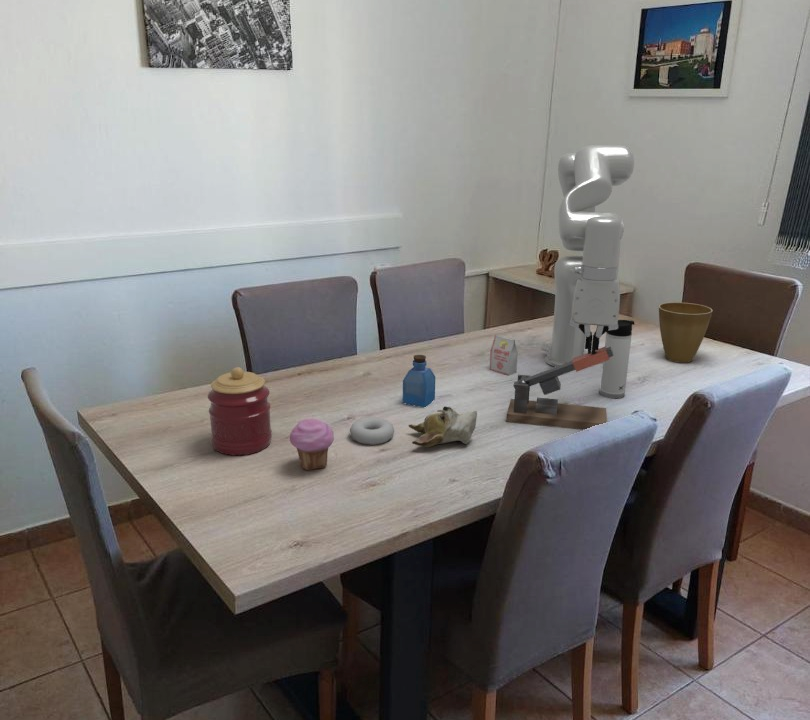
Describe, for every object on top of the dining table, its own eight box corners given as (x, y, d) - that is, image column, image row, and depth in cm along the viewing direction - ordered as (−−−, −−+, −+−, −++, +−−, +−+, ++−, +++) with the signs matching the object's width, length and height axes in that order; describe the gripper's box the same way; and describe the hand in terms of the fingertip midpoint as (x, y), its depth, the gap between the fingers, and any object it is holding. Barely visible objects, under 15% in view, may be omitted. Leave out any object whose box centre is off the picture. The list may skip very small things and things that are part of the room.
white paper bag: (497, 366, 207) (499, 333, 204) (516, 372, 203) (518, 338, 199) (489, 369, 205) (491, 336, 201) (508, 375, 200) (510, 341, 197)
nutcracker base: (506, 421, 169) (508, 386, 167) (510, 406, 179) (512, 372, 176) (606, 432, 164) (610, 395, 161) (605, 415, 173) (609, 380, 171)
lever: (520, 404, 170) (512, 385, 169) (522, 397, 174) (514, 379, 173) (618, 369, 162) (610, 349, 161) (617, 362, 166) (609, 343, 165)
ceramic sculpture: (481, 413, 151) (410, 419, 151) (481, 450, 154) (412, 456, 153) (472, 395, 162) (407, 400, 161) (473, 430, 164) (408, 435, 163)
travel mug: (626, 399, 184) (635, 324, 177) (600, 397, 185) (608, 323, 178) (624, 391, 189) (633, 318, 183) (599, 389, 191) (606, 316, 184)
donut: (365, 452, 154) (403, 439, 160) (365, 437, 153) (403, 425, 159) (341, 435, 162) (377, 424, 167) (341, 421, 161) (377, 410, 166)
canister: (242, 462, 148) (237, 382, 143) (198, 447, 155) (191, 370, 149) (284, 439, 159) (280, 364, 153) (241, 426, 165) (236, 354, 160)
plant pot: (709, 356, 218) (716, 305, 213) (699, 370, 206) (707, 316, 201) (659, 348, 225) (665, 299, 220) (646, 361, 213) (653, 309, 208)
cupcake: (297, 478, 142) (295, 432, 139) (286, 460, 149) (284, 416, 146) (340, 470, 145) (339, 425, 142) (327, 453, 153) (326, 409, 149)
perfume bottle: (434, 399, 183) (436, 354, 179) (425, 407, 177) (426, 362, 173) (412, 395, 185) (413, 351, 181) (402, 403, 180) (403, 358, 176)
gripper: (563, 274, 157) (557, 354, 162) (634, 278, 153) (625, 360, 159) (564, 268, 164) (558, 345, 169) (632, 272, 160) (624, 350, 166)
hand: (591, 352), depth 164 cm, fingers closed
